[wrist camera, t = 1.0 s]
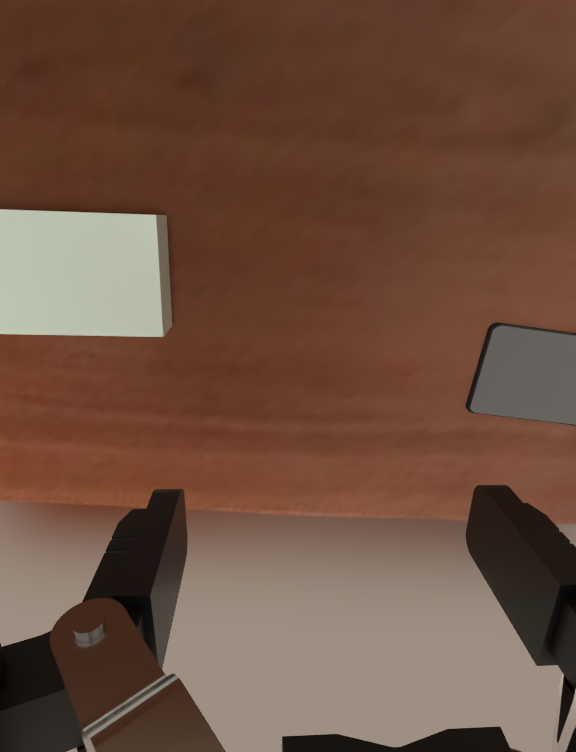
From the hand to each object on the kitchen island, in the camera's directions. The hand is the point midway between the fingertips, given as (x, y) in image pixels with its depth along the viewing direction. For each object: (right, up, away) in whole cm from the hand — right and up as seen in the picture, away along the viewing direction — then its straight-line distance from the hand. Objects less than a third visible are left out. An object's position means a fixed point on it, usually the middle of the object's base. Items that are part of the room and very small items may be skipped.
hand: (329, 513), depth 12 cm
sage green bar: (-17, +11, +16) cm, 26 cm away
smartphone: (+20, +4, +22) cm, 30 cm away
